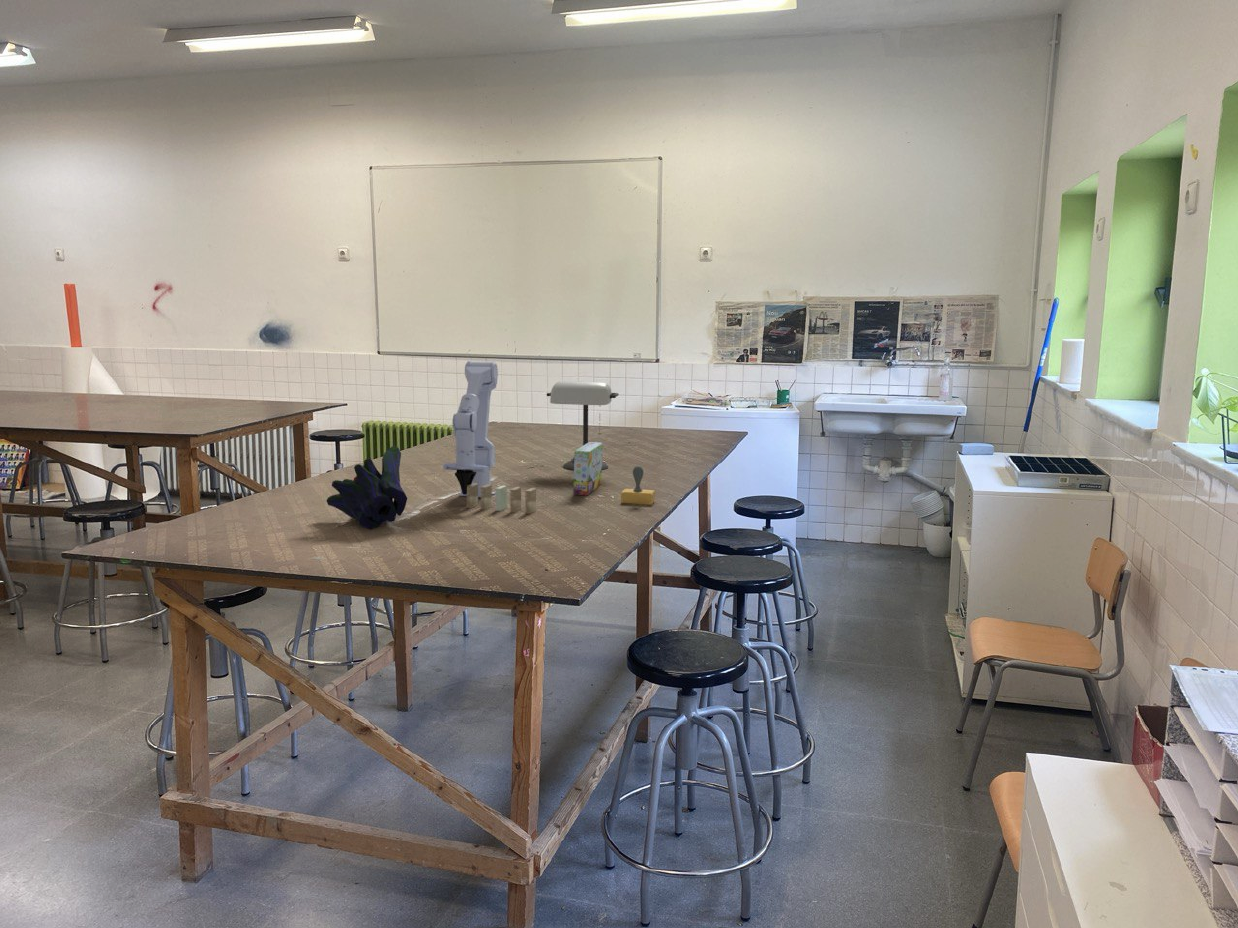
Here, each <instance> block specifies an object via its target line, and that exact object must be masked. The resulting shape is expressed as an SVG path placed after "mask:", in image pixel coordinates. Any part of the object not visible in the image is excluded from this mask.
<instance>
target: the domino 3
mask: <svg viewBox="0 0 1238 928" xmlns="http://www.w3.org/2000/svg"><path fill="white" fill-rule="evenodd" d="M507 490H508V486H507V485H500V486H498V487H495V492H496V493H495V512H496V511H497V512H501V511H504V510H506V509H507V508H508V491H507Z"/></svg>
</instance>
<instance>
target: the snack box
mask: <svg viewBox="0 0 1238 928" xmlns="http://www.w3.org/2000/svg"><path fill="white" fill-rule="evenodd" d="M603 444H604V443H603V442H598V441H597V442H595V441H592V442H591V441H588V443H587V444H585V445H584V446H583V445H582V446H580V447H579V448H577V449H576V450H574V456H573V458H574V470H573V490H572V491H573V495H574V496H575V495H576V496H589V495H590V493H592V492H594V491H595V490H596V489H597V488H598V487H600V485H602V484H603V483H602V479H603V478H602V476H603V475H602V471H603V470H602V462H603V446H604V445H603Z"/></svg>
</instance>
